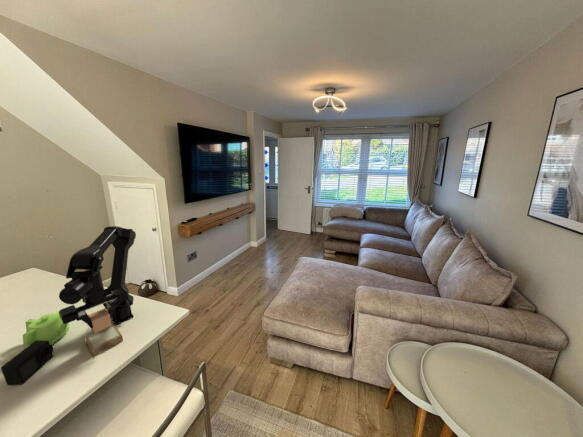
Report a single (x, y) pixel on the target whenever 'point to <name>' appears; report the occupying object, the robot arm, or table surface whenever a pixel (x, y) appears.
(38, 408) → the table surface
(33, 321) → the teapot
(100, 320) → the cube
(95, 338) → the stand
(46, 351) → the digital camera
